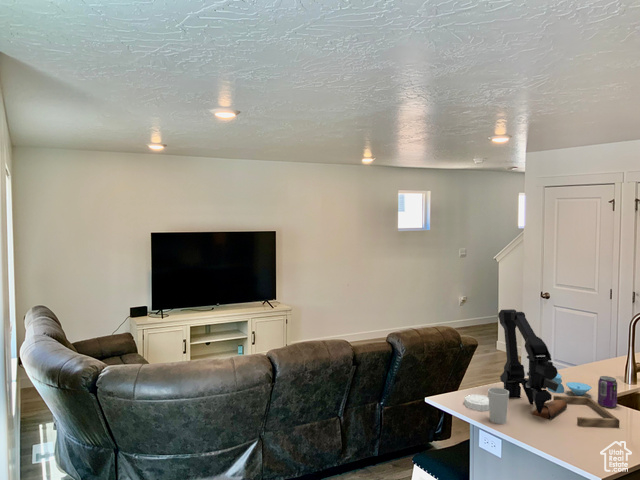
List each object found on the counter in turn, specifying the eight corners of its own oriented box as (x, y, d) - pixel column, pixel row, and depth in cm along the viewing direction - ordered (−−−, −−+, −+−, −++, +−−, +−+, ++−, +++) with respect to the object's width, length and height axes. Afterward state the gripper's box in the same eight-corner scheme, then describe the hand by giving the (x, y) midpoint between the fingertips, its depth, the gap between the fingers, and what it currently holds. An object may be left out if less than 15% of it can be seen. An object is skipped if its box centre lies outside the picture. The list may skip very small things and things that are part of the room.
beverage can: (619, 409, 202) (620, 381, 201) (601, 407, 203) (602, 380, 203) (612, 403, 208) (613, 376, 208) (595, 401, 210) (595, 375, 210)
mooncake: (475, 399, 213) (475, 391, 213) (499, 407, 204) (499, 399, 203) (458, 405, 206) (458, 397, 206) (482, 414, 197) (482, 405, 196)
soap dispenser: (592, 394, 219) (593, 375, 219) (589, 401, 211) (590, 381, 211) (550, 386, 230) (551, 368, 230) (545, 392, 222) (546, 373, 222)
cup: (508, 418, 192) (508, 388, 192) (509, 425, 185) (509, 395, 184) (487, 415, 195) (487, 386, 194) (487, 423, 187) (488, 393, 187)
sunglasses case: (546, 402, 208) (555, 391, 205) (561, 414, 204) (569, 403, 201) (529, 414, 196) (538, 402, 193) (544, 427, 191) (553, 415, 189)
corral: (578, 426, 184) (579, 418, 184) (553, 402, 209) (553, 395, 209) (619, 427, 183) (619, 420, 183) (588, 403, 208) (588, 396, 208)
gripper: (565, 379, 187) (564, 418, 188) (547, 366, 206) (546, 401, 206) (536, 378, 188) (535, 417, 189) (521, 365, 207) (520, 400, 207)
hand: (535, 408), depth 198 cm, fingers open, 9 cm apart
